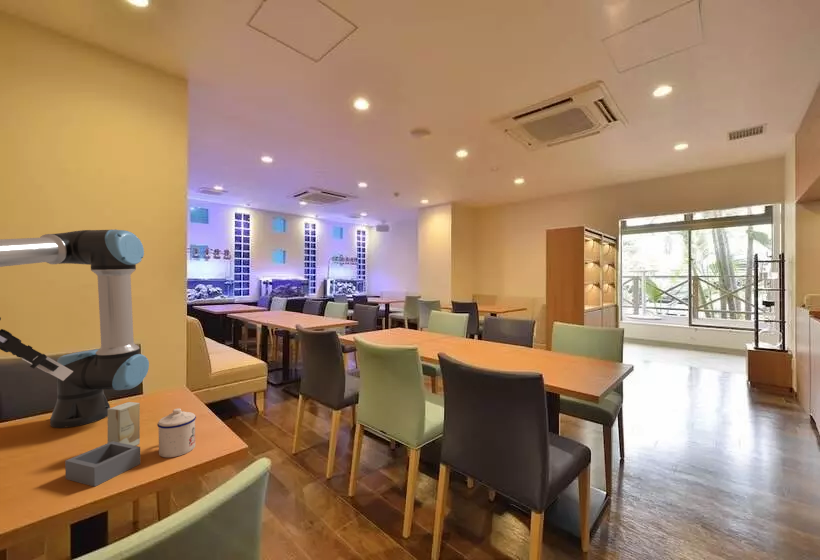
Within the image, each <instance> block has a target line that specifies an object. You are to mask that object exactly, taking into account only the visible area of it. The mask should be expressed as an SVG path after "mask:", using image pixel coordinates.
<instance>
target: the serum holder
mask: <svg viewBox="0 0 820 560" xmlns="http://www.w3.org/2000/svg"><path fill="white" fill-rule="evenodd" d="M64 463H65V466H64V467H65V471H64V472H65V480H69V481H73V482H75V483H80V484H84V485H88V486H91V487H94V488H95V487H97V486H99V485H100V484H101V485H102V484H103V483H104V482H107V481H108V480H112V479H113V478H116V477H117V476H119V475H121V474H123V473H125V472H127V471H129V470H131V469H134V468H135V467H136V466H137V467H138V466H139V465H141V446H138V445H136V446H134V445H129V444H124V443H119V442H114V441H112V442H109V443H105V444H102V445H100V446H98V447H95V448H93V449H91V450H87V451H85V452H83V453H80V454H77V455H75V456H73V457H71V458H69V459H65V461H64Z"/></svg>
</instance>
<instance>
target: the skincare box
mask: <svg viewBox="0 0 820 560" xmlns="http://www.w3.org/2000/svg"><path fill="white" fill-rule="evenodd" d="M140 404H141V402H133V401H127V402H125V403H122V404H121V403H120V404H117V405H116V406H113V407H110V408H109V409H108V416H107V443H109V442H112V441H114V442H119V443H124V444H129V445H134V446H138V445H140V443H141V442H140V441H141V440H140V438H141V437H140V436H141V435H140V433H141V431H140V429H141V428H140V427H141V425H140V419H141V418H140V415H141V412H140V409H141V408H140V406H141V405H140ZM107 443H106V444H107Z"/></svg>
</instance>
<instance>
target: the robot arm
mask: <svg viewBox="0 0 820 560" xmlns="http://www.w3.org/2000/svg"><path fill="white" fill-rule="evenodd" d="M144 250H145V249H144V245H143V243H142V241H141V239H140V238H139V237H137V235H136V234H134V233H133V232H131V231H129V230H124V229H116V228H115V229H86V230H85V229H82V230H72V231H67V232H60V233H45V234H41V236H40V237H28V238H27V237H25V238H22V237H21V238H3V239H1V238H0V268H2V267H11V266H21V265H31V264H39V263H42V264H43V263H46V264H50V265H62V264H64V265H65V264H69V265H71V264H75V265H88V266H89V265H90V271H91V272H93V273H94V274H95V275H96V276H97V293H98V309H99V310H98V311H99V312H98V313H99V331H100V348H96V349H88V350H83V351H78V352H77V351H76V352H73V353H68V354H64V355H61V356H59V357H58V358H57V361H56V360H54V359H52V358H51V357H49V356H47V355H46V354H44V353H41V352H40V351H38V350H36V349H34V348H33V346H31V345H29V344H27V345H26V344H25V343H23V342H22V340H21V339H19V338H18V337H16V336H14V335H13V333H11V332H9V330H6V329H4V328H1V329H0V351H2V352H4V353H11V354H12V355H13V356H15V357H17V358H20V359H21V360H22V361H25V362H27V363H28V364H30V368H31V369H35V368H38V369H39V370H41V371H43V372H45V373H48V374H49V375H52V376H53V377H55V378H56V394H57V395H56V398H57V399H56V403H55V405H54V408H53V410H52V413H51V415H50V419H49V421H50V427H52V428H57V429H58V428H59V429H61V428H62V429H63V428H72V427H78V426H83V425H88V424H91V423H93V422H94V423H95V422H97V421H100V420H102V419H105V418H107V417H108V409H109V408H111V406H110V403H109V401H108V400H107V397H106V395H105V393H104V390H111V391H113V390H114V391H122V390H131V389H133V388H135V387H137V386H139V385H140V384H141V383H142V382H143V381H144V379H145V378H146V377H147V374H148V373H149V367H150V361H149V359H148V358H147V356H146V355H144V354H142V353H141V351H140V346H139V345H138V344H136V343H135V341H134V340H135V339H134V323H133V322H134V320H133V300H132V299H133V298H132V278H131V277H132V276H131V275H132V274H133V273H134V272H136V269H137V267H136V266H137V265H138V264H140V263H141V262H142V259H144V256H145V251H144ZM1 319H2V317H1V316H0V321H1Z"/></svg>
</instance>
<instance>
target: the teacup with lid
mask: <svg viewBox="0 0 820 560" xmlns="http://www.w3.org/2000/svg"><path fill="white" fill-rule="evenodd" d="M196 419H197V416H196V414H195V413H193V412H191V411H190V412H189V411H182V409H181V408H174V409H173V410H172V412H171V413H169V414H168V415H166V416H164V417H162V418H160V419H159V420H158V422H157V427H158V455H159V456H160V457H162V458H175V457H179V456H183V455H185V454H188V453H190V452H192V451H193V450H194V449H195V447H196Z"/></svg>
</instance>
